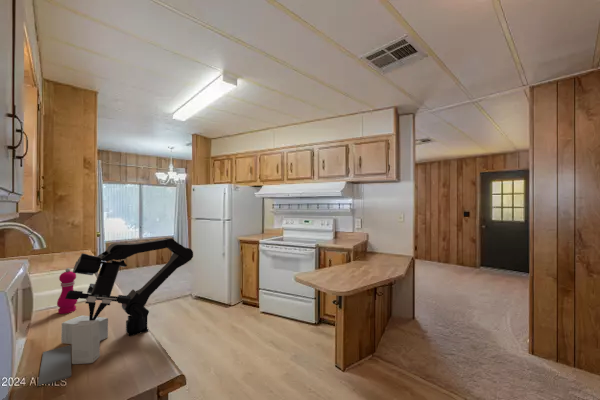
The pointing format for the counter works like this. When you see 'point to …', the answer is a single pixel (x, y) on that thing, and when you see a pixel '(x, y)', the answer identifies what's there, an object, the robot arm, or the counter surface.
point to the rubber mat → (55, 365)
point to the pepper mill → (67, 285)
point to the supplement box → (67, 325)
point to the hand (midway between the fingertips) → (90, 324)
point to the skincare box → (85, 342)
